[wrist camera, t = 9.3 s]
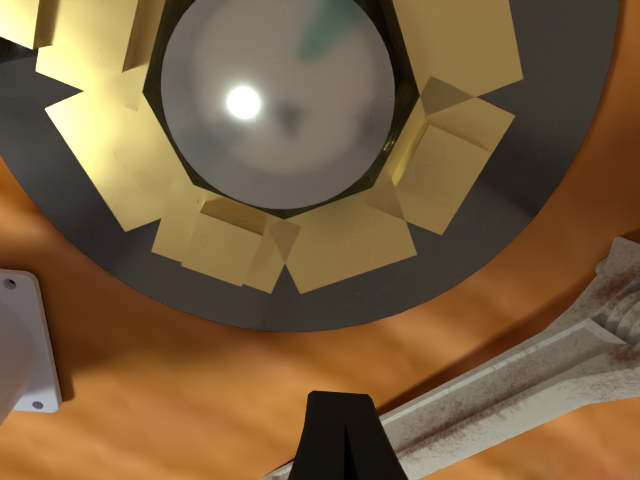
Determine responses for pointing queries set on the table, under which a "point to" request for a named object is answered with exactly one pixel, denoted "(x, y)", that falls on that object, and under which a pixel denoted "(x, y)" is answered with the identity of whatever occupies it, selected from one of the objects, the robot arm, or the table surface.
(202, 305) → the cap base
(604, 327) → the wrench
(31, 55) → the stop pin
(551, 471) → the table surface
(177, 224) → the golden segmented ring
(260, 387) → the table surface
